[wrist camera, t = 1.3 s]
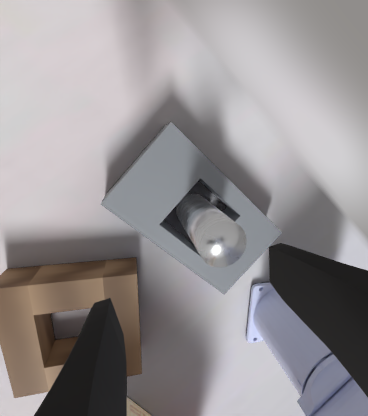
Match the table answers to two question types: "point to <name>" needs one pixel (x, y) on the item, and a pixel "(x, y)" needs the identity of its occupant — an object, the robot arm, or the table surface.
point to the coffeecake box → (135, 409)
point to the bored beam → (174, 192)
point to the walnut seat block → (59, 302)
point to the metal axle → (211, 231)
